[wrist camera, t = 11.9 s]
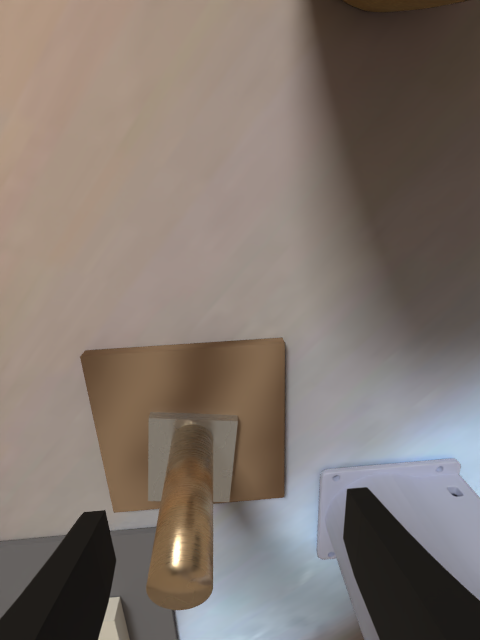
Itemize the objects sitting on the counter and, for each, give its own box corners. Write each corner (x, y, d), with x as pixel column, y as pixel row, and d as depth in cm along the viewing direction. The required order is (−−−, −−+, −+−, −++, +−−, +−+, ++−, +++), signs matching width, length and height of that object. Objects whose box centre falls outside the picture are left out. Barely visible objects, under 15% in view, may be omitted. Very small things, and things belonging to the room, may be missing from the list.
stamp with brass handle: (150, 411, 20) (107, 558, 12) (237, 415, 20) (252, 558, 12) (149, 493, 22) (112, 666, 14) (228, 494, 22) (237, 662, 14)
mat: (159, 526, 24) (158, 532, 24) (184, 681, 30) (184, 687, 30) (-52, 546, 23) (-57, 551, 23) (17, 700, 29) (14, 706, 29)
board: (282, 337, 20) (284, 343, 19) (282, 487, 24) (284, 497, 23) (85, 350, 19) (80, 356, 19) (117, 502, 23) (113, 512, 22)
